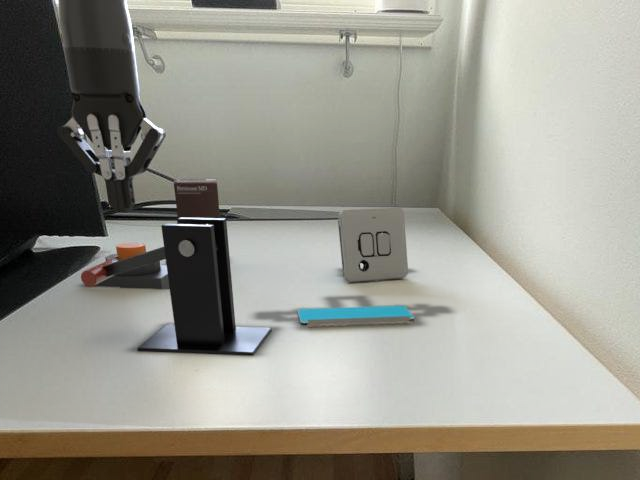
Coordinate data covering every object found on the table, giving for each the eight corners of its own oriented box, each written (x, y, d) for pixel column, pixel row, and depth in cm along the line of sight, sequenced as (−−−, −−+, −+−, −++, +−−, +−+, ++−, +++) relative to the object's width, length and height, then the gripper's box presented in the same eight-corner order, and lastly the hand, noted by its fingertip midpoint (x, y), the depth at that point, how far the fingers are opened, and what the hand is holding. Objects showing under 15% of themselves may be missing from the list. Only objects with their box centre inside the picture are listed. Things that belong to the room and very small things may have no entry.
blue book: (426, 303, 81) (427, 289, 80) (453, 332, 70) (454, 316, 70) (262, 309, 78) (261, 294, 77) (264, 339, 68) (263, 323, 67)
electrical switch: (346, 284, 90) (343, 210, 86) (334, 279, 94) (331, 209, 90) (409, 279, 93) (409, 208, 89) (394, 275, 97) (394, 207, 93)
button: (113, 261, 84) (111, 247, 83) (125, 256, 87) (122, 242, 86) (140, 262, 84) (138, 248, 83) (151, 257, 87) (149, 243, 86)
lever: (87, 293, 61) (75, 267, 59) (113, 280, 65) (102, 256, 64) (206, 257, 58) (196, 229, 57) (224, 246, 63) (214, 220, 62)
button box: (86, 293, 84) (80, 261, 82) (113, 279, 91) (108, 249, 89) (163, 296, 83) (158, 263, 81) (183, 281, 90) (180, 251, 88)
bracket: (138, 360, 62) (116, 227, 56) (168, 335, 69) (151, 214, 63) (253, 364, 61) (243, 229, 55) (272, 339, 68) (265, 216, 62)
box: (183, 272, 96) (172, 181, 90) (183, 266, 99) (172, 178, 93) (225, 270, 97) (217, 180, 91) (224, 264, 101) (216, 178, 95)
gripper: (168, 50, 77) (184, 210, 85) (59, 48, 78) (86, 206, 86) (143, 44, 70) (163, 218, 79) (25, 42, 71) (57, 214, 80)
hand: (123, 211), depth 82 cm, fingers closed
